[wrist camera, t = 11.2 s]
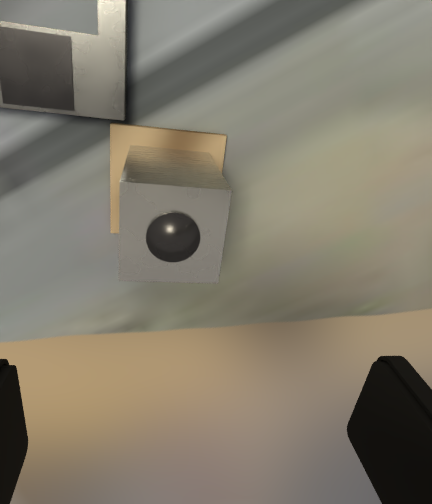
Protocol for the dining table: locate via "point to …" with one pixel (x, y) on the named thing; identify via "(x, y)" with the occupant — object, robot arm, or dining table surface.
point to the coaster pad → (159, 138)
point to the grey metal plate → (67, 66)
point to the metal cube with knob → (171, 216)
